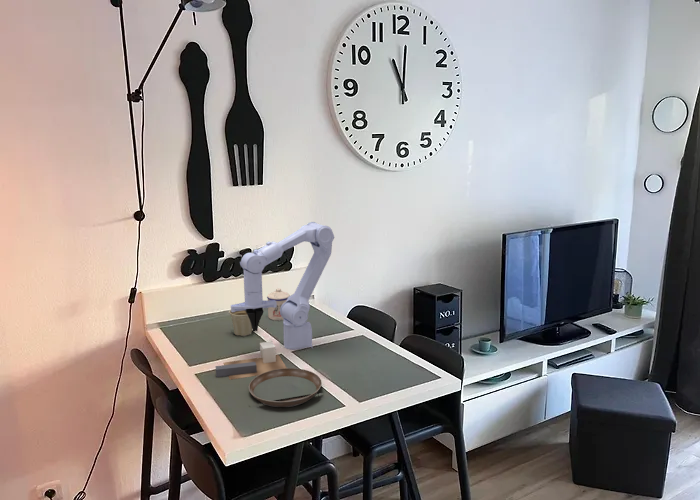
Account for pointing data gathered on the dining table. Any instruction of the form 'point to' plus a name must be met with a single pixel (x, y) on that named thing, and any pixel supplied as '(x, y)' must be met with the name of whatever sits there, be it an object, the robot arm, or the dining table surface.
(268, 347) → the pale grey block
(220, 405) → the dining table surface
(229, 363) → the board
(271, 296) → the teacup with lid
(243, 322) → the flower pot
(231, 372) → the bar
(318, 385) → the plant saucer
